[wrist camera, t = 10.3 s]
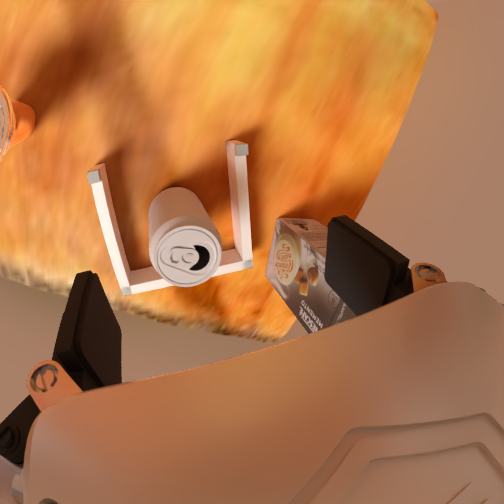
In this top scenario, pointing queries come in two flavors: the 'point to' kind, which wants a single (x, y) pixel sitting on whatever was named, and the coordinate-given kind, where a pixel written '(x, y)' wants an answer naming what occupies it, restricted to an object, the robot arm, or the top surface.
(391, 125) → the top surface
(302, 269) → the coffee box
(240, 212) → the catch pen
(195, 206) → the beverage can
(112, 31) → the top surface
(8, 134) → the cup with straw
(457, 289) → the robot arm
